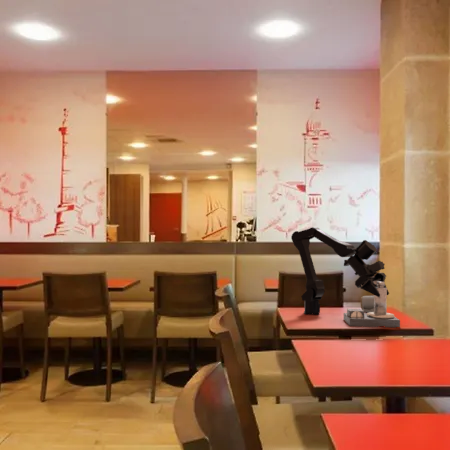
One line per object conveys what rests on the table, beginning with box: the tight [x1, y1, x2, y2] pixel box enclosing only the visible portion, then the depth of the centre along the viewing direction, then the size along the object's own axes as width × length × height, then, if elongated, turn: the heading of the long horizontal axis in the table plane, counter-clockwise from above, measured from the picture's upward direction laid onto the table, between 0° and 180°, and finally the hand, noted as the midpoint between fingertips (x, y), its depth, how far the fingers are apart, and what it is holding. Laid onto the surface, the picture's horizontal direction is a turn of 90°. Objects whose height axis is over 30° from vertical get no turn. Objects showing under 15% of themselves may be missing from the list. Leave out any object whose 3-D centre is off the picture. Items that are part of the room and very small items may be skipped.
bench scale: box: [343, 308, 401, 328], centre depth 211 cm, size 20×15×6 cm
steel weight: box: [373, 281, 388, 315], centre depth 211 cm, size 5×5×14 cm
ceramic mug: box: [360, 295, 374, 313], centre depth 244 cm, size 11×8×8 cm
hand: (383, 295), depth 210 cm, fingers open, 8 cm apart
